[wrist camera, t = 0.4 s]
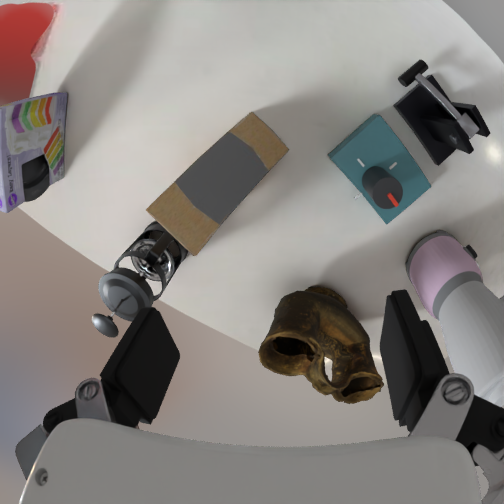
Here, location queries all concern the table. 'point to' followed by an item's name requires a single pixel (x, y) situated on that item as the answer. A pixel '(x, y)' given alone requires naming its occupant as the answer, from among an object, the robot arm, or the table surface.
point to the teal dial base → (380, 163)
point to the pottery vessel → (321, 345)
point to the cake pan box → (31, 148)
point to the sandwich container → (217, 183)
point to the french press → (137, 278)
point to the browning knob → (382, 187)
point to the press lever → (437, 96)
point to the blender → (462, 310)
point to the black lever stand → (438, 122)
